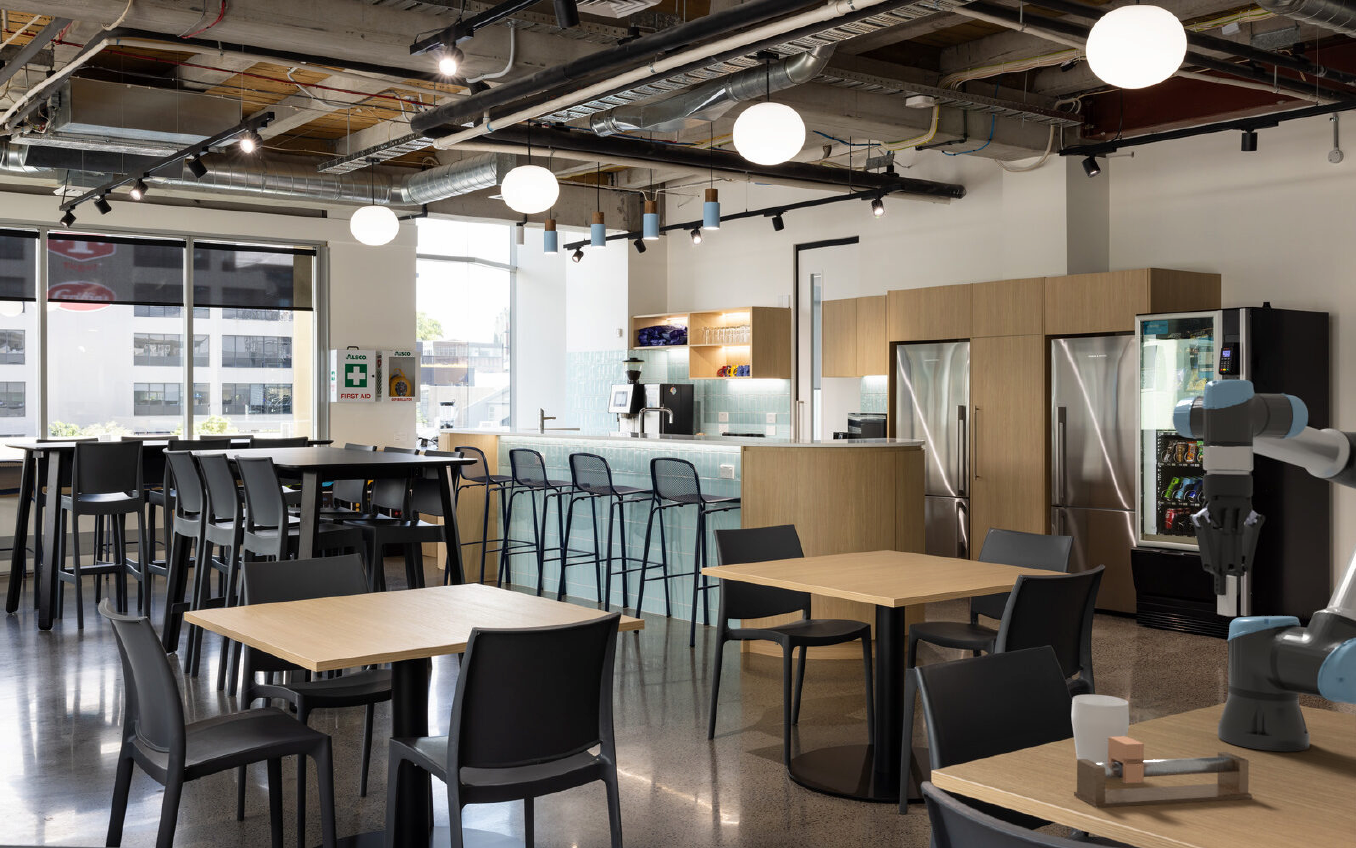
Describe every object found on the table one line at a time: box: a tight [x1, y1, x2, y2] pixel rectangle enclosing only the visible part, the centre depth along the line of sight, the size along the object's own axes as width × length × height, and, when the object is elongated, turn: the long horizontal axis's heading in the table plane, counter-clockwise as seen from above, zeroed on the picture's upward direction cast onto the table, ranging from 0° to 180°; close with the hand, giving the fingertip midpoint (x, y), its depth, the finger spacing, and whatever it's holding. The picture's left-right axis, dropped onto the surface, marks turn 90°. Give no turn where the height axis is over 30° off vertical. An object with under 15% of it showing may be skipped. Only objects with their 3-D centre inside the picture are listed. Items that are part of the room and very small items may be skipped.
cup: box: [1071, 694, 1130, 763], centre depth 191 cm, size 9×9×12 cm
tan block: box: [1108, 735, 1145, 784], centre depth 176 cm, size 3×5×6 cm, turn 13°
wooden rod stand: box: [1073, 751, 1253, 808], centre depth 178 cm, size 27×6×6 cm, turn 103°
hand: (1226, 614), depth 191 cm, fingers closed
